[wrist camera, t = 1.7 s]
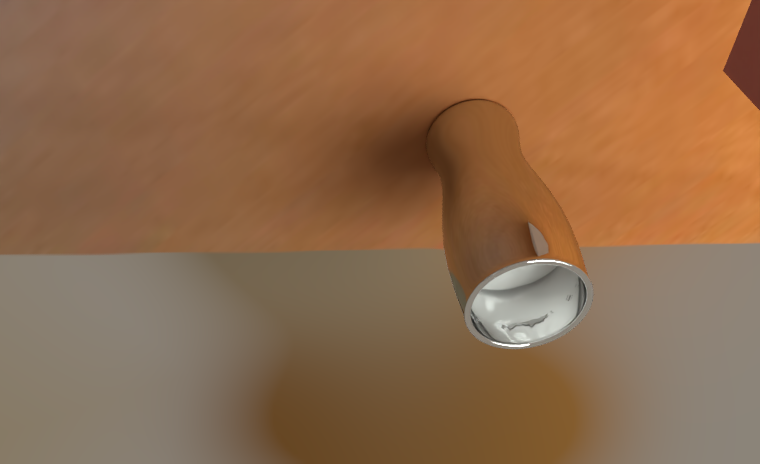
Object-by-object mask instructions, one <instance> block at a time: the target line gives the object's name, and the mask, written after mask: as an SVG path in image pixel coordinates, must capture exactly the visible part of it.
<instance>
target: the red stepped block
mask: <svg viewBox="0 0 760 464" xmlns="http://www.w3.org/2000/svg"><path fill="white" fill-rule="evenodd" d="M723 71H724V72H725V73H726V74H727V76H728V77H729V78H730V79H731V80H732V81H733V82H734V83H735V84H736V85H737V86H738V87H739V88H740V90H741V91H742V92H743V93H744V94H745V95H746V96H747V97H748V98H749V99H750V100H751V101H752V103H753V104H754V105H755V106H756V107H757V108H758V109H759V110H760V0H752V1H751V4H750V6H749V9H748V11H747V13H746V16H745V18H744V21H743V23H742V26H741V28H740V31H739V33H738V36H737V38H736V41H735V43H734V45H733V48H732V50H731V53H730V55H729V58H728V60H727V63H726V65H725V68H724V70H723Z"/></svg>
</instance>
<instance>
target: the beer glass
mask: <svg viewBox="0 0 760 464" xmlns="http://www.w3.org/2000/svg"><path fill="white" fill-rule="evenodd" d="M426 149H427V154H428V157H429V160H430V162H431V164H432V165H433V167H434V169H435V170H436V172H437V174H438V175H439V177H440V180H441V183H442V196H443V199H442V232H443V246H444V252H445V257H446V262H447V267H448V270H449V274H450V277H451V280H452V284H453V287H454V290H455V293H456V296H457V299H458V301H459V304H460V306H461V309H462V312H463V315H464V319H465V323H466V325H467V328H468V329H469V331H470V332H471V333H472V335H473V336H474V337H476V338H477V339H478V340H480V341H482V342H484V343H485V344H488V345H491V346H494V347H498V348H505V349H523V348H530V347H535V346H539V345H542V344H546V343H548V342H551V341H553V340H555V339H558V338H559V337H561V336H563V335H565V334H566V333H568V332H569V331H571V330H572V329H573V328H574V327H576V325H578V324H579V323H580V322H581V321H582V320H583V318H584V317H585V316H586V314H587V312H588V311H589V309H590V307H591V304H592V301H593V286H592V283H591V280H590V278H589V276H588V273H587V270H586V267H585V264H584V260H583V257H582V255H581V251H580V248H579V245H578V242H577V240H576V237H575V235H574V232H573V230H572V227H571V225H570V223H569V221H568V219H567V217H566V215H565V213H564V211H563V209H562V208H561V206H560V204H559V203H558V201H557V200H556V199H555V197H554V196H553V194H552V193H551V191H550V190H549V189H548V187H547V186H546V185H545V183H544V182H543V181H542V180H541V178H540V177H539V176H538V175H537V173H536V172H535V171H534V170H533V169H532V167H531V166H530V165H529V163H528V162H527V161H526V159H525V158H524V156H523V154H522V151H521V146H520V137H519V130H518V126H517V123H516V121H515V119H514V117H513V116H512V114H511V113H510V112H509V111H508V110H507V109H506V108H504V107H503V106H501V105H499V104H497V103H495V102H492V101H487V100H470V101H465V102H462V103H459V104H456V105H454V106H452V107H450V108H449V109H447V110H446V111H444V112H443V113H442V114H441V115H440V116H439V117H438V118H437V119H436V120H435V121H434V123H433V124H432V126H431V128H430V130H429V132H428V135H427V141H426Z"/></svg>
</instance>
